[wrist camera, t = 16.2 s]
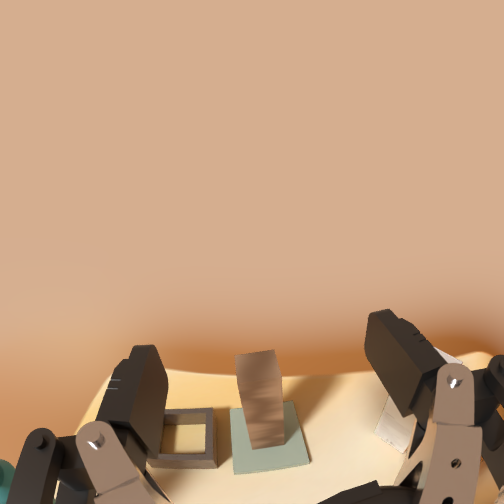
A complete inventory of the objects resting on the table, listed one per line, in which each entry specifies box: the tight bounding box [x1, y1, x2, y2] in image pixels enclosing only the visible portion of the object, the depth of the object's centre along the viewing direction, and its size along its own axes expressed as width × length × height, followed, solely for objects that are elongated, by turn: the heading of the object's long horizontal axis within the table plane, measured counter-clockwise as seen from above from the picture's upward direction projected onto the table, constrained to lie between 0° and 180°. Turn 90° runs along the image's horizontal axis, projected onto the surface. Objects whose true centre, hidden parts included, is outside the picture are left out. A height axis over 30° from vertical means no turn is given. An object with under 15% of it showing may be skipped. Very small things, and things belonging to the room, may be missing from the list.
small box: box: [374, 347, 463, 454], centre depth 28 cm, size 8×6×13 cm
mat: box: [230, 401, 310, 475], centre depth 33 cm, size 10×12×1 cm
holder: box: [147, 408, 217, 469], centre depth 32 cm, size 10×10×3 cm
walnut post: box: [235, 350, 285, 450], centre depth 31 cm, size 4×4×15 cm
